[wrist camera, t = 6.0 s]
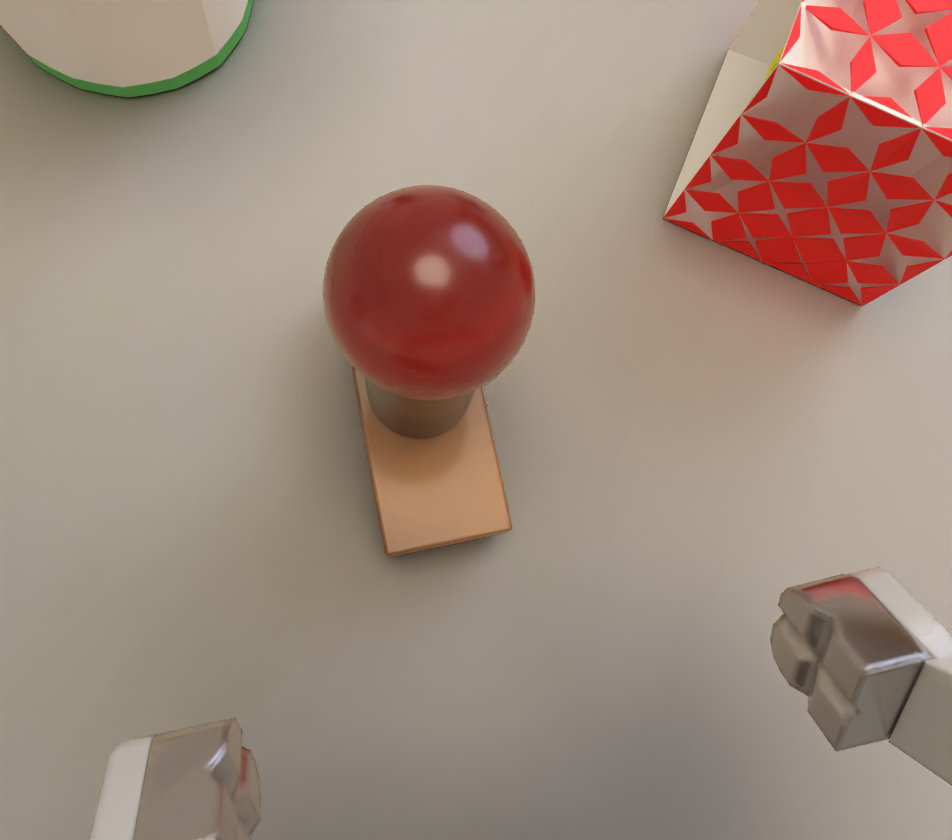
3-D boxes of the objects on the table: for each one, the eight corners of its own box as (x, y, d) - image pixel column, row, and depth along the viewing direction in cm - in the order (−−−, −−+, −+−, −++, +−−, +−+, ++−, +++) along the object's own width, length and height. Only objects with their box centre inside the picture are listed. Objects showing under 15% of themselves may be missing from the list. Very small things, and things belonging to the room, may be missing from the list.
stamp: (506, 533, 22) (617, 495, 11) (381, 559, 22) (361, 549, 10) (450, 271, 24) (496, 2, 12) (332, 289, 23) (269, 24, 12)
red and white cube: (728, 48, 27) (860, -160, 19) (914, 131, 27) (1118, -43, 19) (661, 220, 25) (778, 66, 17) (861, 308, 25) (1064, 194, 17)
